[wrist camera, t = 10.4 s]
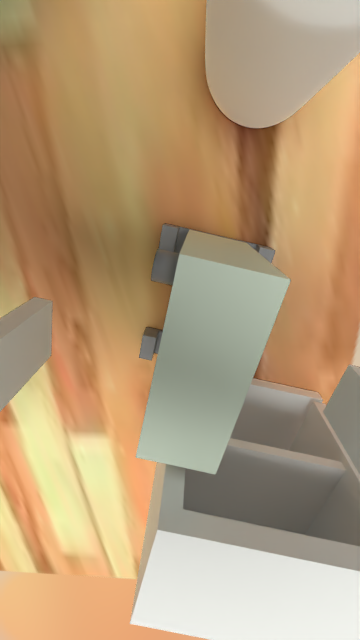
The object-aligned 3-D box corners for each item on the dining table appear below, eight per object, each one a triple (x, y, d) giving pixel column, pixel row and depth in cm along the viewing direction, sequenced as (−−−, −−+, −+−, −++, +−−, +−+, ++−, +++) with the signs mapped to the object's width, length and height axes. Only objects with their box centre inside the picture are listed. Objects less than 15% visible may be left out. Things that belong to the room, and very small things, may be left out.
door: (172, 225, 19) (145, 245, 10) (246, 242, 19) (290, 279, 10) (147, 351, 23) (111, 452, 14) (209, 365, 23) (215, 474, 14)
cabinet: (165, 223, 19) (108, 255, 7) (378, 272, 19) (666, 382, 7) (128, 425, 26) (68, 611, 14) (284, 459, 27) (353, 668, 15)
